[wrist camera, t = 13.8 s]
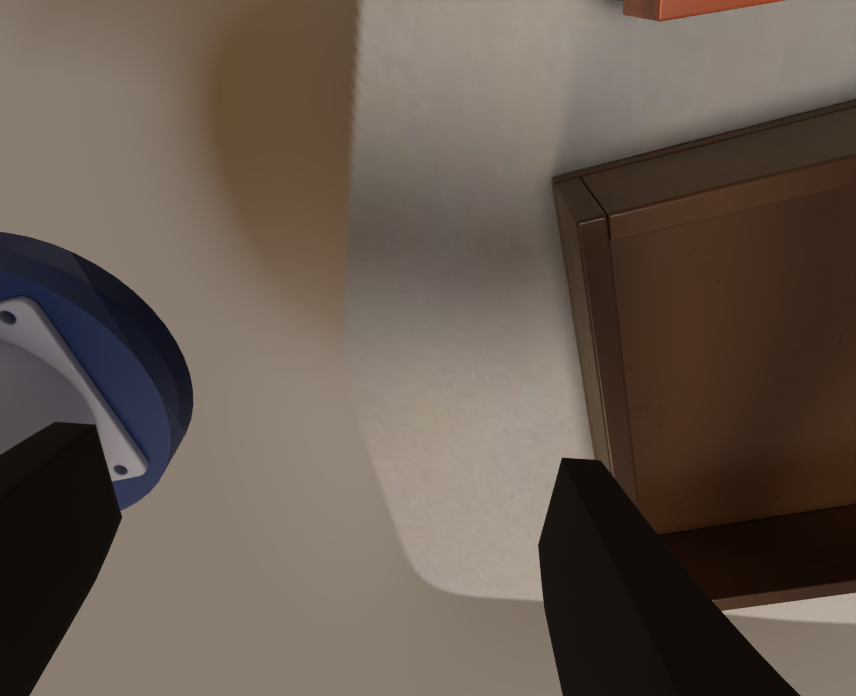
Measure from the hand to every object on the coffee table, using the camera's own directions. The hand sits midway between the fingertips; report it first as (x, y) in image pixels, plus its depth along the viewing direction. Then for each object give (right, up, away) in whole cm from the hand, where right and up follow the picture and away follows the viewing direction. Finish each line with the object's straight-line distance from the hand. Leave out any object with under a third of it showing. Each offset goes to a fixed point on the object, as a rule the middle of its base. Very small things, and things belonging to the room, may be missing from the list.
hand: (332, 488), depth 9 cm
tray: (+13, +2, +10) cm, 16 cm away
